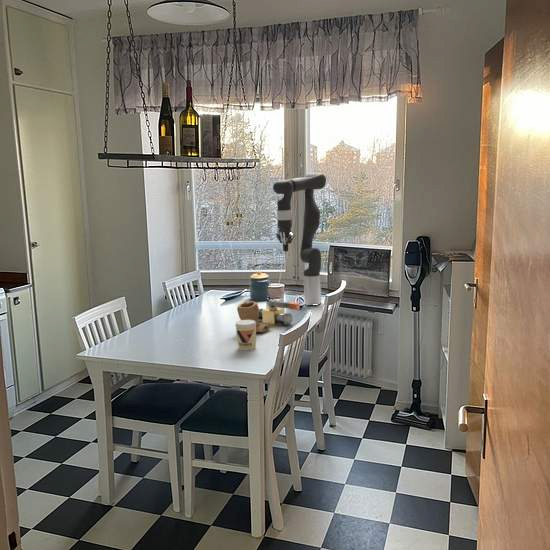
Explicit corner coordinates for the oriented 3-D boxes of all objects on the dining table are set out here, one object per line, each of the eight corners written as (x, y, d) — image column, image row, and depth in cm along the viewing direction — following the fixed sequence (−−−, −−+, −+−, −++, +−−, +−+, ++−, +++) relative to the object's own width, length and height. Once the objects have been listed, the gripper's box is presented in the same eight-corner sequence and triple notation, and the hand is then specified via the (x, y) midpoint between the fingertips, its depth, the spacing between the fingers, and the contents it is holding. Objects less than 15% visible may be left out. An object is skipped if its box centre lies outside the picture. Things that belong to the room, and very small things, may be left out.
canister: (260, 302, 345) (259, 273, 342) (245, 299, 354) (244, 271, 350) (275, 298, 354) (274, 270, 351) (260, 295, 363) (259, 268, 360)
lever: (267, 306, 297) (267, 301, 297) (271, 305, 300) (271, 299, 300) (296, 310, 288) (296, 304, 287) (300, 308, 291) (299, 302, 290)
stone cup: (234, 334, 282) (232, 304, 279) (244, 327, 293) (242, 298, 290) (262, 336, 277) (261, 306, 274) (271, 329, 288) (270, 300, 285)
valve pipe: (254, 321, 303) (253, 305, 301) (264, 318, 309) (263, 302, 307) (283, 327, 290) (283, 310, 288) (293, 323, 296) (293, 307, 294)
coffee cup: (234, 351, 256) (233, 325, 254) (239, 344, 265) (237, 319, 263) (255, 351, 255) (254, 324, 253) (259, 344, 264) (257, 319, 262)
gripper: (271, 218, 306) (272, 251, 309) (287, 220, 296) (288, 253, 299) (281, 217, 311) (283, 249, 314) (298, 218, 301) (299, 251, 304)
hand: (285, 251), depth 307 cm, fingers closed
